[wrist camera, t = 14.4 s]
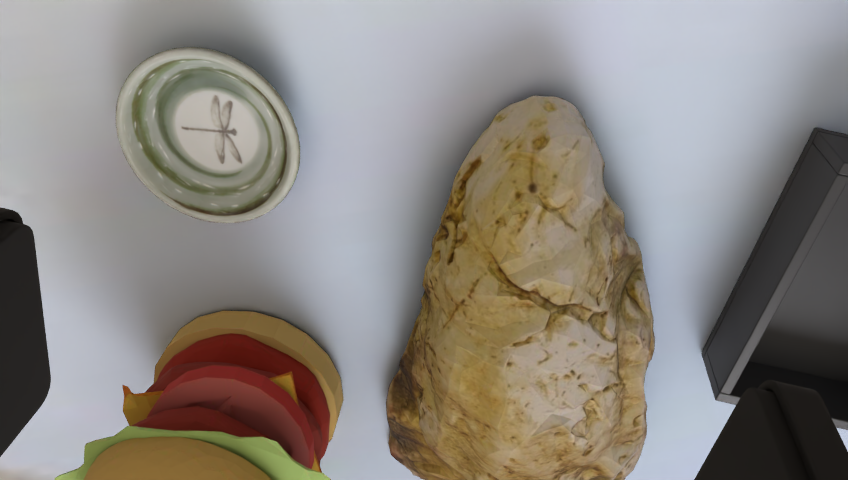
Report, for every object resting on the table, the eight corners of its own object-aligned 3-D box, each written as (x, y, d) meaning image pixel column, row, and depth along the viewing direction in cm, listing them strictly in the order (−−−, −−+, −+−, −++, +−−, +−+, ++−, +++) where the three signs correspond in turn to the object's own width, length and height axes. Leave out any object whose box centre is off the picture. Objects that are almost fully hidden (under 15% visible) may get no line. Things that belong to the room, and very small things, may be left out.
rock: (385, 607, 46) (321, 189, 29) (394, 478, 54) (348, 91, 37) (646, 607, 45) (736, 175, 28) (616, 476, 53) (673, 78, 36)
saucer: (106, 50, 38) (82, 65, 36) (281, 20, 36) (266, 34, 34) (172, 212, 43) (154, 233, 41) (330, 194, 41) (319, 215, 39)
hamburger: (348, 285, 44) (273, 485, 31) (398, 448, 51) (353, 667, 38) (105, 311, 48) (-51, 500, 35) (182, 459, 54) (74, 664, 42)
